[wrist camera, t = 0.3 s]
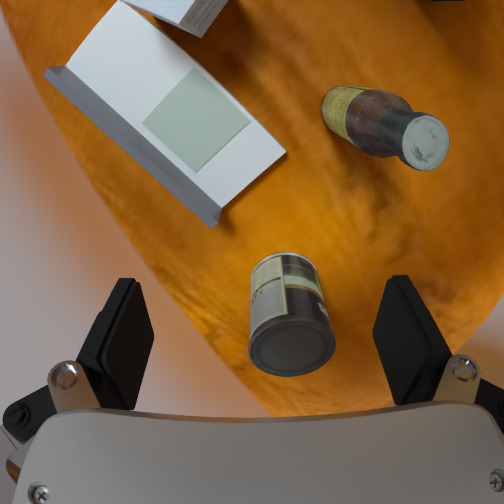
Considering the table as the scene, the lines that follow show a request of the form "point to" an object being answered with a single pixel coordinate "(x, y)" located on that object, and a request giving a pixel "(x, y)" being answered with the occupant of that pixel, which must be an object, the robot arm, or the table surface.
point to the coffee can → (288, 317)
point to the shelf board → (174, 103)
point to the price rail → (134, 144)
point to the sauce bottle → (385, 126)
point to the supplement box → (182, 12)
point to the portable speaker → (447, 0)
